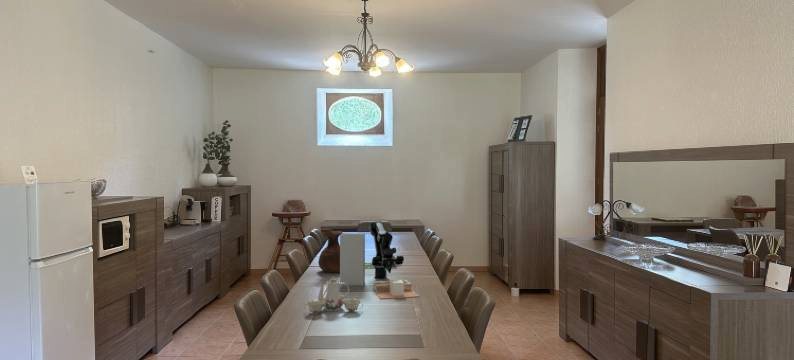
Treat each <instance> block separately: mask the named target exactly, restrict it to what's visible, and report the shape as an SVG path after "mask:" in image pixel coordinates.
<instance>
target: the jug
mask: <svg viewBox="0 0 794 360" xmlns="http://www.w3.org/2000/svg"><path fill="white" fill-rule="evenodd" d="M320 232H321V233H323V235H324V236H325V237H326V238H327V245H326V247H324V248H323V249H322V250H321V252H320V254H319V257H318V263H317V264H318V266H319V268H320V270H321V271H323V272H326V273H331V274H332V273H334V274H337V273H338V274H340V241H339V238H340V235H342V234H344V232H343V231H341V230H337V231H335V230H334V231H331V229H329V228H321V229H320Z"/></svg>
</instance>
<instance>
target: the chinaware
mask: <svg viewBox="0 0 794 360" xmlns="http://www.w3.org/2000/svg"><path fill="white" fill-rule="evenodd" d="M318 284H319V285H320V289H319V291H318V296H317V299H318V300H312V301H306V304H305V305H304V309H305V310H306V311H309V313H311V314H312V315H318V314H320V312H321V311H322V309H323V308H324V310H325V311H326V312H338V311H341V310H342V307H343V306H344V308H345V309H346V310H347V312H348V313H350V314H352V313H356V311H358V309H362V308H363V306H364V305H363V303H362V301H361V299H359V300H358V299H356V298H351V299H346V298H347V295H348V294H349V292H350V287H349V286H350V285H347V284H346V283H340V280H339V281H338V280H337V279H336V278H335V277H334V276H332V277H331V279H329V280H328V281H326V286H327V291H326V295H325V297H324V289H325V288H324V287H325V286H324V284H323V283H322V282H319V283H318ZM342 284H345V285H346V287H347V291H346V293H345V294H341V293H340V290H339V287H340V288H342V287H343V285H342ZM360 304H361V307H359V306H360ZM306 305H307V307H308V309H307V308H306Z"/></svg>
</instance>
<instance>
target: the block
mask: <svg viewBox="0 0 794 360" xmlns="http://www.w3.org/2000/svg"><path fill="white" fill-rule="evenodd" d="M402 280H403V279H400V278H399V279H389V281H390V293H391V294H392V295H393V296H400V295H404V282H403V281H402Z"/></svg>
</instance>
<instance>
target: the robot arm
mask: <svg viewBox="0 0 794 360" xmlns="http://www.w3.org/2000/svg"><path fill="white" fill-rule="evenodd" d="M383 225H384V224H383V221H381V220H375V221H374V222H372V223H370V224H369V225H368V230H369V231H370V235H371V236H372V237H373V240H374V247H375V254H376V255H375V256H373V257H372V259H371V263H372V265H373V267H374V268H375V269H374V279H386V278H388V277H387V276H388V274H391V272H392V269H391V268H392V266H393V265H394V262H396V264H397V265H403V264H404V259H405V257H404V256H403V255H397V256H395V257H396V258H392V257H393V256H394V254H396V253H397V248H396V247H392V248H391V244H392V242H393V238H394V237H393V235H392V234H391V233H390V232H389V231H386V230H385V227H384V226H383ZM388 263H389V265H388ZM387 272H388V274H387Z"/></svg>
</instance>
